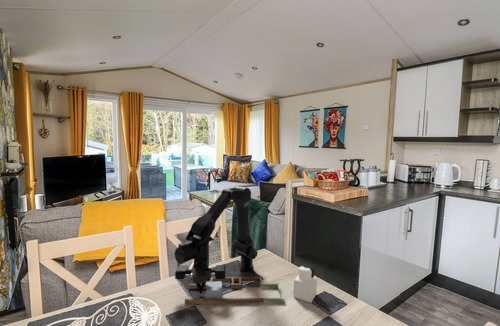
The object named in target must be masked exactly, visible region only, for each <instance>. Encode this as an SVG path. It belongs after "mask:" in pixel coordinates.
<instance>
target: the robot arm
mask: <svg viewBox="0 0 500 326" xmlns="http://www.w3.org/2000/svg"><path fill="white" fill-rule="evenodd" d="M251 198H252V190H251V189H250V188H249V187H243V186H240V185H239V186H238V185H236V186H234V187H228V188H224V189H222V191H221V193H220V195H219V196H218V197H217V199H216V200H215V202H213V204H211V207H209V209H208V210H207V211H206V213H205V214H203V215H201V216H199V217H198V218H197V219H196V220H195V221H194V222H193V223H192V225H191V228H190V229H189V231H188V233H187V235H186V237H185V242H181V243H179V244H178V247H177V248H175V250H174V252H173V253H174V258H175V259H174V260H175V261H176V263H178V264H179V265H178V266H177V268H176V269H175V272H174V279H175V280H184V279H186V277H187V275H190V281H191V282H192V284H196V285H197V287H198V289H197V290H198V293H199V294H203V290H204V289H203V288H204V286H205V284H206V282H210V280H211V277H212V275H214V277H215V278H216V279H225V277H226V274H227V273H226V271H227V267H226V265H221V264H218V265H215V267H214V268H211V267H210V242H213V241H214V238H213V237H212V234H213V232H214V230H215V229H216V222H217V221H218V220H219V218H220V216H221V215H222V214H223V212H224V211H225V210H226V208H227V207H228V205H229V204H230V203H231V201H233V203H234V205H235V206H236V207H235V208H236V216H237V217H236V218H237V222H236V223H237V235H238V236H237V238H236V239H235V240H234V241H233V244H234V245H233V246H234V247H233V249H234V250H235V252H236V255H238V256H240V263H239V272H254V271H255V268H254V263H253V262H254V260H255V259H256V258H257V257H258V251H257V250H256V248H255V246H254V241H253V239H252V238H251V236H250V231H249V230H250V229H249V227H250V226H249V208H248V207H249V206H248V205H249V204H250V202H251V200H252V199H251ZM195 236H196V237H195ZM192 260H193V265H192V268H189V265H186V264H185V263H187V262H190V261H192ZM183 264H185V265H183ZM201 284H202V285H201Z"/></svg>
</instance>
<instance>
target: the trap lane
mask: <svg viewBox="0 0 500 326" xmlns="http://www.w3.org/2000/svg"><path fill="white" fill-rule="evenodd" d="M216 281H221V282H222V285H223V282H225V283H224V284H227V283H226V282H228V285H226V286H227V287H226V288H229V287H228V286H229V285H231V289H242V288H260V289H277V290H278V294H279V297H233V298H232V297H227V298H224V297H222V298H210V299H206V298H185V299H184V305H219V304H220V305H223V304H224V305H225V304H227V305H228V304H229V305H231V304H234V305H236V304H239V305H240V304H283V303H285V297H284V292H283V290H282V287H281V284H280V282H273V283H272V282H269V283H267V282H265V283H263V278H262V276H230V277H229V276H228V277H227V276H225V279H216V278H215V276H213V277H212V276H211V278H210V280H209V282H216ZM229 281H232V282H229ZM234 281H239V282H238V283H235V282H234ZM241 281H254V282H250V283H248V284H245V285H242V284H241ZM230 283H231V284H230ZM201 285H202V283H201ZM188 287H189V289H190V290H196V289H197V290H198V287H197V285H196V283H189V285H188ZM204 289H205V290H206V283H205V286H204V288H203V290H204Z"/></svg>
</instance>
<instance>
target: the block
mask: <svg viewBox="0 0 500 326" xmlns="http://www.w3.org/2000/svg"><path fill="white" fill-rule="evenodd" d="M205 284H206V289H205V299H210V298H223V287H222V282H221V281H216V282H210V281H207V282H206V283H205Z"/></svg>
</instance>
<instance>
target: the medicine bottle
mask: <svg viewBox="0 0 500 326" xmlns="http://www.w3.org/2000/svg"><path fill="white" fill-rule="evenodd" d="M293 282H294V283H293V298H296V299H298V300H301V301H304V302H307V303H310V304H312V302H313V301H314V299H315V297H316V295H317V293H318V292H317V291H318V290H317V288H318V277H316V276H315V268H314V267H313V265H310V264H308V263H303V264H299V266H298V275H297V276H296V277H295V279H294V281H293Z"/></svg>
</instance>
